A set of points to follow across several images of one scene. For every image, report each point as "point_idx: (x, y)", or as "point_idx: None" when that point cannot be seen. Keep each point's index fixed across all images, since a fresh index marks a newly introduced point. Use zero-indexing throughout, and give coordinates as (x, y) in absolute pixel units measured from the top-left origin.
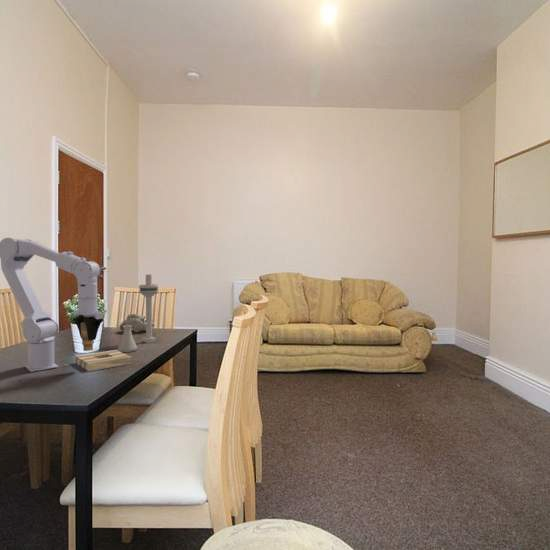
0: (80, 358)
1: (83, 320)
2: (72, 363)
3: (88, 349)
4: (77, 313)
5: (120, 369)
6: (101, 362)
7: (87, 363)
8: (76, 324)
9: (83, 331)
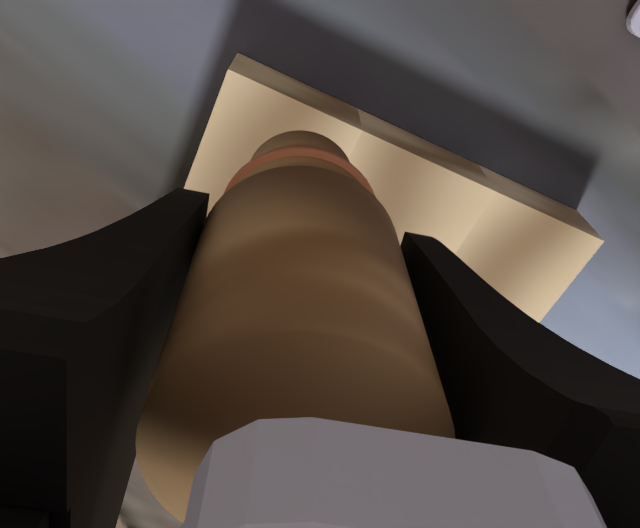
0: (479, 191)
1: (66, 319)
2: (596, 192)
3: (252, 156)
4: (241, 488)
5: (47, 211)
6: (187, 182)
7: (247, 77)
8: (594, 359)
9: (266, 225)
